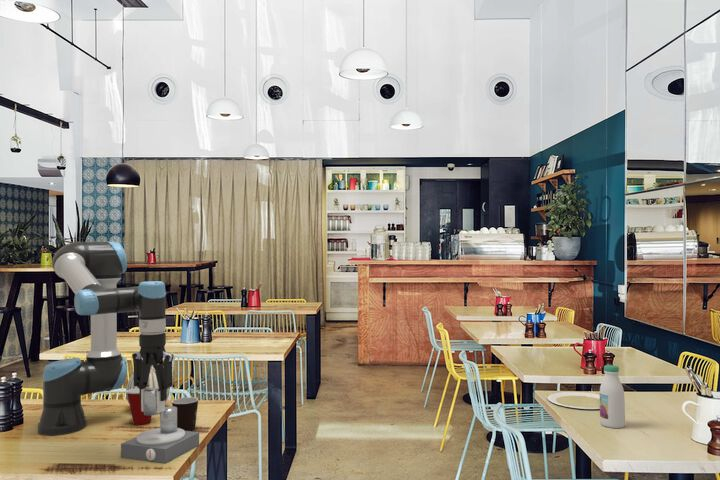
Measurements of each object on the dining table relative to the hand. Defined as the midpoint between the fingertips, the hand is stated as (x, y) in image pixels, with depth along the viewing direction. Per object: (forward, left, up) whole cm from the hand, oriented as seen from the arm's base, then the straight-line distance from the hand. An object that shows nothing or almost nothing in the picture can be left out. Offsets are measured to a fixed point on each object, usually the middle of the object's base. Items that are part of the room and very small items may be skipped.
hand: (153, 410), depth 171 cm
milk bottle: (+131, +71, -13) cm, 149 cm away
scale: (0, +4, -13) cm, 14 cm away
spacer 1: (0, 0, -1) cm, 1 cm away
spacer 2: (0, +7, -8) cm, 11 cm away
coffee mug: (-6, +25, -13) cm, 29 cm away
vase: (-36, +41, -13) cm, 56 cm away
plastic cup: (-26, +26, -13) cm, 39 cm away
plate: (+122, +99, -14) cm, 158 cm away
